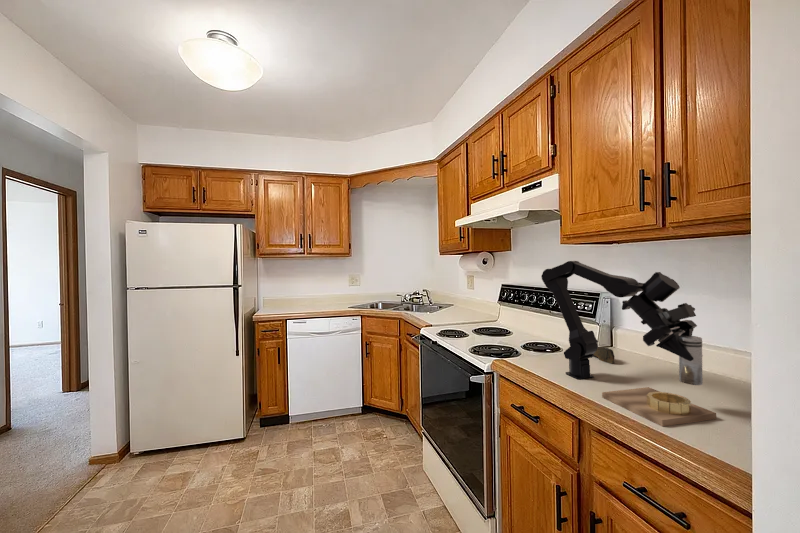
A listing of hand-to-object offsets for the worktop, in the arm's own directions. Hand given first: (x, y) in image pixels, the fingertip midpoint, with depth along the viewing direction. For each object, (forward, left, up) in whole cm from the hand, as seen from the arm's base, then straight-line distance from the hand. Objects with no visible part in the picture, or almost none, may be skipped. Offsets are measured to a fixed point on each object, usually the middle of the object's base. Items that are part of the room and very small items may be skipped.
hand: (696, 358), depth 93 cm
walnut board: (-4, -9, -13) cm, 17 cm away
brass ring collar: (0, -9, -12) cm, 15 cm away
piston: (-1, 0, -7) cm, 7 cm away
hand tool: (-51, +13, -14) cm, 55 cm away
